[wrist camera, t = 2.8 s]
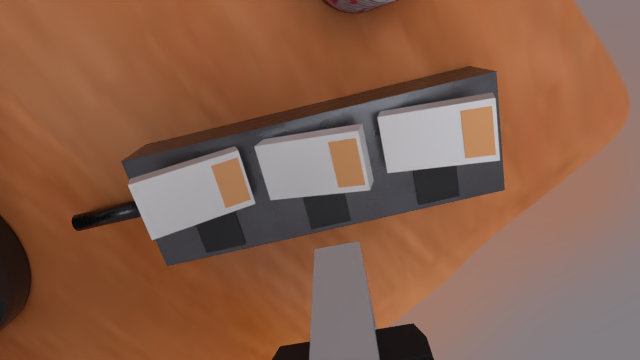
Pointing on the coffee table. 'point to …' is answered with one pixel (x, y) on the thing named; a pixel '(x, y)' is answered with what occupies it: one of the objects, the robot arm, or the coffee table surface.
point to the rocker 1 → (191, 192)
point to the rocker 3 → (440, 134)
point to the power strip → (323, 210)
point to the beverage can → (356, 5)
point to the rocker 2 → (316, 163)
